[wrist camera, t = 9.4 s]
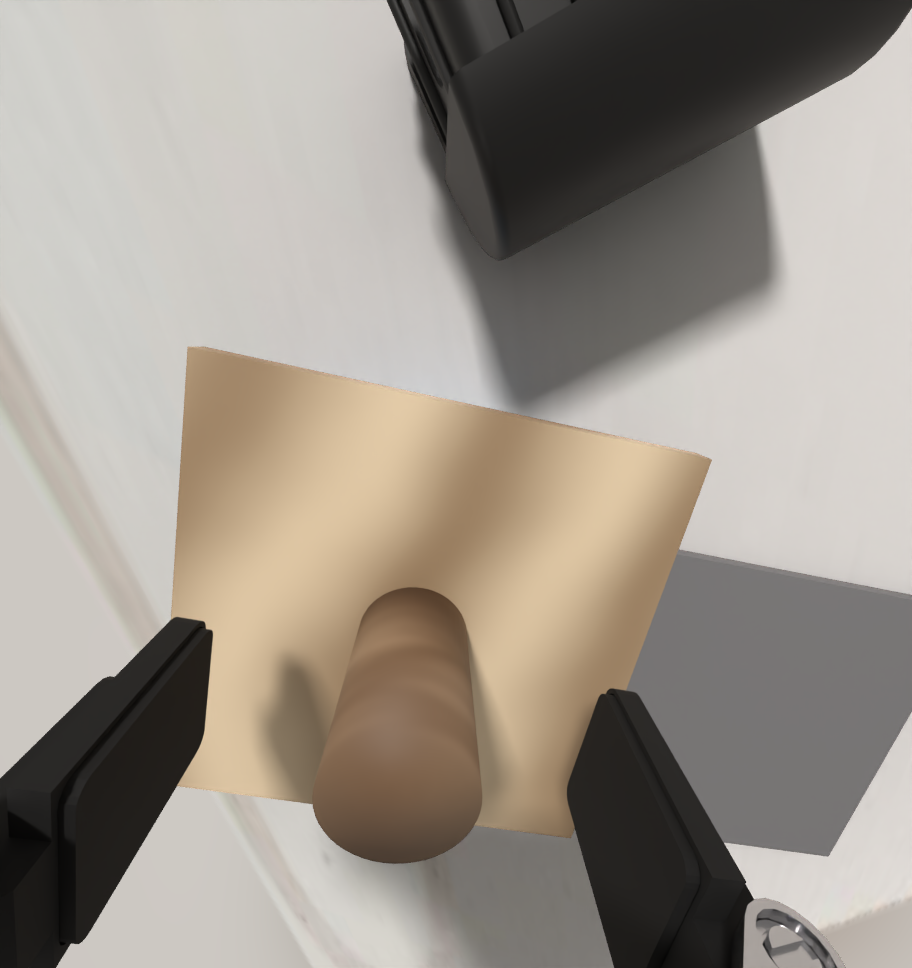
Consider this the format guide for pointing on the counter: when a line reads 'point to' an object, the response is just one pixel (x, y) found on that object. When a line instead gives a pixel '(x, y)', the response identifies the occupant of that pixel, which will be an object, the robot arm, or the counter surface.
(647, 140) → the end cap
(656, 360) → the counter surface
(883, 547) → the counter surface
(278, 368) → the lid
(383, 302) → the counter surface
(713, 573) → the mat
